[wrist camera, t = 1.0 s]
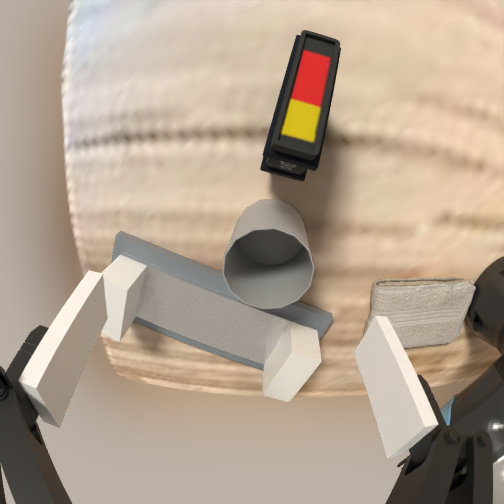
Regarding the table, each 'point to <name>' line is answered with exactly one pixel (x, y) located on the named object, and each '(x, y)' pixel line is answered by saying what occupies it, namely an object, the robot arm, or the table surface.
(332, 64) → the black ribbed block
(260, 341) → the steel rail
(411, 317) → the washcloth
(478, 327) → the robot arm
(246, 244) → the cup
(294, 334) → the module
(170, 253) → the rail board
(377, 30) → the table surface
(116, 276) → the block
